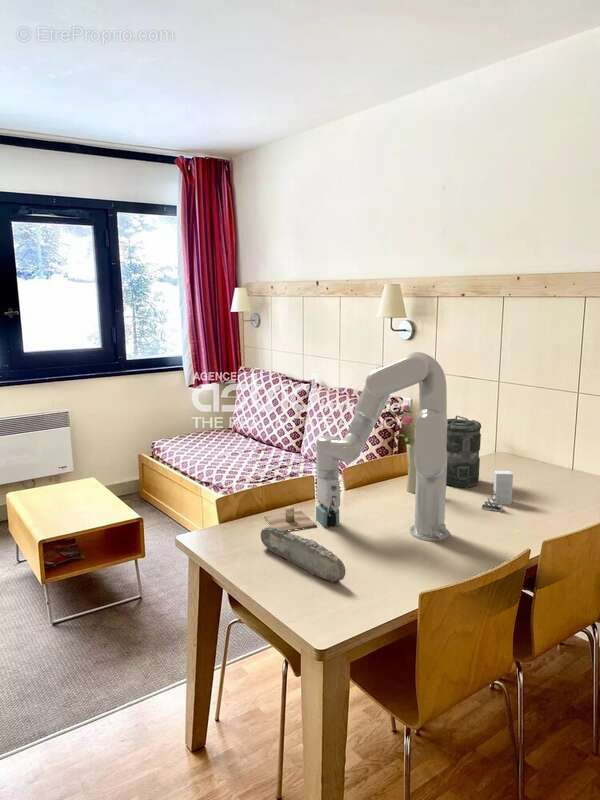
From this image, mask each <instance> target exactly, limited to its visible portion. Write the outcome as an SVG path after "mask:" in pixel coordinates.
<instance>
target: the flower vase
mask: <svg viewBox="0 0 600 800" xmlns="http://www.w3.org/2000/svg"><path fill="white" fill-rule="evenodd" d="M402 409H403V410H405V411H407V412H411V411H413V410H414V408H412V405H409V404H406V405H403V406H402ZM397 412H398V413H399V414H401V411H399V410H398V409H397ZM398 413H395V412H393V415H397V416H399V417H400V418H402V419H401V421H400V423H401V424H404V425H406V427H407V430H408V434H409V437H406V436H405V434H397V435H396V436H398V437H399V436H400V437H402V438H404V441H405V442H408V441H409V440H410V443H408V444H405V445H406V455H407V463H408V471H407V478H406V480H407V481H406V488H405V489H406V490H405V491H406V492H407V493H410V494H416V467H415V464H414V443H415V439H412V432H413V433H415V424H414V425H413V427H412V428H413V430H412V431H411V427H410V424H411V423H413V421H414V417H413V416H409V415H405V416H404V417H402V416H401V415H399V414H398ZM412 442H413V443H412Z"/></svg>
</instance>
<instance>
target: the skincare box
mask: <svg viewBox="0 0 600 800" xmlns="http://www.w3.org/2000/svg"><path fill="white" fill-rule="evenodd" d="M493 471H494V472H493V490H494V492H495V493H496V495H492V497H493V499H498V500H499V502H500V503H501V505H512V501H513V482H514V480H513V479H514V474H513V472H512V471H511V470H493ZM492 492H493V491H492ZM494 492H493V493H492V494H494ZM495 501H496V500H495ZM496 503H498V501H496Z"/></svg>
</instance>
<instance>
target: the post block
mask: <svg viewBox="0 0 600 800" xmlns="http://www.w3.org/2000/svg"><path fill="white" fill-rule="evenodd" d="M284 512H285V513H279V514H273V515H272V514H271V515H265V516H264V517H263V518H265V519H266V520H267V521H268V522H269V523H270V524H271V525H272V526H273V527H276V528H278V529H280V530H285V531H288V530H295V529H301V530H304V529H303V528H307V529H311V527H313V528H317V526H318V525H317V524H316V523H315V522H314V521H313V520H312V519H311V518H310V517H309V516H308V515H306V514H305V513H304V512H303V511H302V510H298V511H295V507H293V506H286V507H285V511H284ZM265 519H264V520H265ZM266 520H265V521H266ZM267 521H266V522H267ZM268 522H267V523H268ZM269 523H268V524H269ZM270 524H269V525H270ZM271 525H270V526H271ZM272 526H271V527H272ZM295 531H296V530H295Z"/></svg>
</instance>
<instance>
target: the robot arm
mask: <svg viewBox="0 0 600 800" xmlns="http://www.w3.org/2000/svg"><path fill="white" fill-rule="evenodd" d="M443 369H444V368H442V366H441V365H440V363H439V362H438V361H437V360H436V359H435V358H433V356H431V355H429V354H428V353H425V352H421V351H414V352H411V353H410V354H408V355H407V356H406V357H405V358H403V359H400V360H398V361H395V362H394V363H391V364H389V365H386V366H377V367H375V368H374V369H373V370H371V371H370V372H369V373H368V375H367V376H366V378H365V385H364V387H363V389H362V392H361V394H360V396H359V398H358V400H357V402H356V404H355V407H354V416H353V418H352V421H351V423H350V426H349V428H348V430H347V432H346V434H345V435H344V438H343V439H341V440H339V439H338V438H337V437H336V436H333V435H322V436H319V437H318V438H317V440H316V443H315V444H316V445H315V446H316V450H315V451H316V457H315V458H316V478H317V479H316V499H317V503H318V506H322V505H324V506H325V507H327V510H328V516H327V526H328V527H327V528H330V526H332V527H336V526H337V525H336V515H337V512H338V511H339V512H340V508H339V507H340V506H341V488H340V481H339V477H340V475H339V467H340V466H339V465H340V464H339V463H340V462H344V463H354V462H355V461H356V460H357V459H358V458H359V457H360V455H361V453H362V452H363V451H364V449H365V446H366V444H367V442H368V440H369V438H370V436H371V434H372V431H373V429H374V427H375V425H376V423H378V421H379V419H380V416H381V414H382V412H383V409H385V406H386V403H387V402H388V400H389V397H390V395H391V394H393V393H396V392H399V391H402V390H405V389H407V388H409V387H412V386H414V385H416V384H418V402H419V403H418V414H417V415H418V416H417V418H416V421H415V423H414V425H415V428H414V429H415V430H414V431H415V432H414V440H415V441H414V443H413V444H414V464H415V467H416V493H415V499H414V500H415V501H414V503H415V505H414V524H413V525H412V526H410V528H409V534H410V535H411V536H412V537H414V538H415V539H418V540H421V541H426V542H440V541H444V540H447V539H448V538H449V537H450V532H449V529H448V528H447V527H446V524H445V521H446V520H445V519H446V516H445V515H446V495H447V494H446V492H447V485H446V474H447V450H446V446H447V425H448V422H447V419H448V415H447V414H448V413H447V408H448V405H447V403H448V401H447V400H448V399H447V396H448V395H447V391H448V389H447V378H446V375H445V372H444V370H443ZM330 505H333V506H331V507H330ZM331 508H333V510H332V511H330V509H331Z"/></svg>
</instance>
